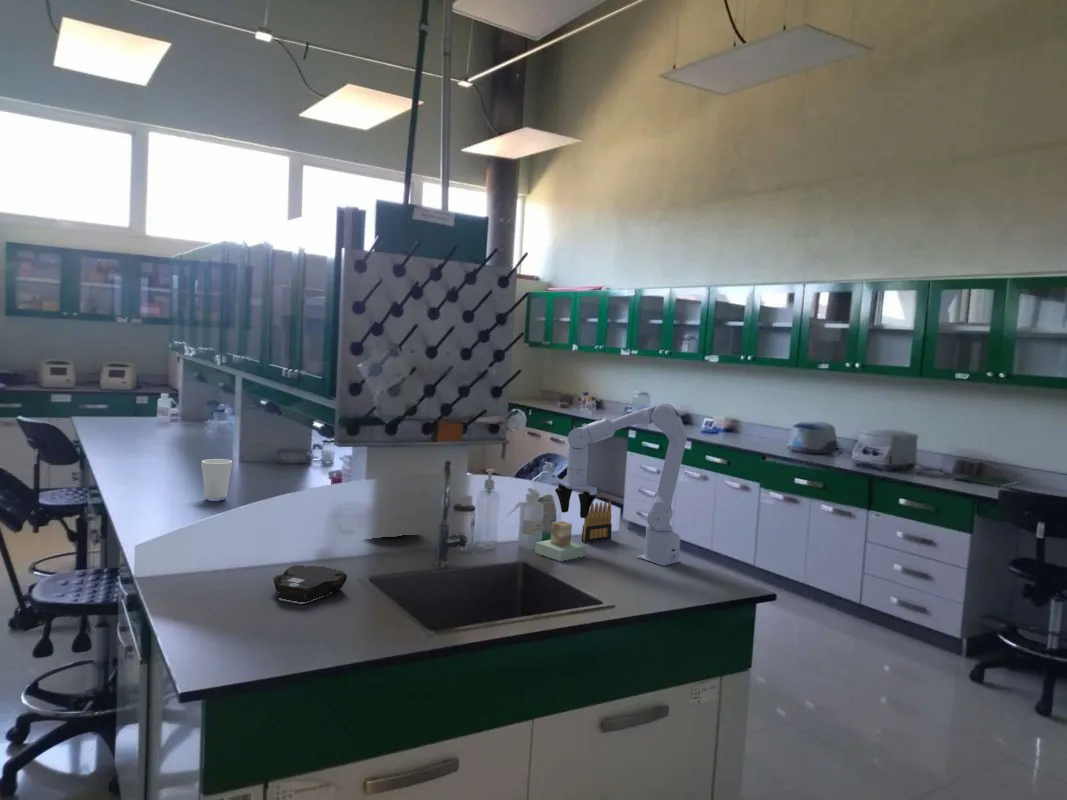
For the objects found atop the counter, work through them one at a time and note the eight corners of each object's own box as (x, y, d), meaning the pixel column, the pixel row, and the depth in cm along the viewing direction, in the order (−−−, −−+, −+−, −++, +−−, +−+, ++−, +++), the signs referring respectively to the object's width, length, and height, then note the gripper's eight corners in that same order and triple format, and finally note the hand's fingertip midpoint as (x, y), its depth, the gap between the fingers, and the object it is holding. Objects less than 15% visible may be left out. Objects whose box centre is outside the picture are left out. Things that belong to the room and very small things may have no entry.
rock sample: (270, 583, 177) (270, 562, 176) (339, 579, 183) (340, 559, 182) (276, 609, 161) (277, 586, 160) (351, 604, 167) (352, 582, 166)
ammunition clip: (585, 543, 229) (587, 504, 229) (581, 541, 231) (583, 502, 230) (611, 539, 236) (614, 501, 235) (607, 538, 237) (610, 500, 237)
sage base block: (584, 556, 215) (585, 545, 215) (560, 561, 208) (560, 550, 208) (559, 547, 222) (560, 537, 222) (534, 552, 216) (535, 542, 215)
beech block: (570, 544, 215) (571, 523, 215) (560, 546, 212) (562, 525, 212) (560, 541, 218) (561, 520, 217) (550, 543, 215) (551, 522, 215)
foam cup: (236, 500, 257) (238, 461, 256) (212, 504, 249) (213, 464, 248) (219, 495, 262) (220, 458, 261) (194, 499, 254) (195, 460, 253)
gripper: (549, 465, 224) (546, 511, 225) (586, 473, 213) (582, 521, 214) (566, 464, 229) (563, 508, 230) (602, 472, 218) (599, 518, 219)
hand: (574, 514), depth 222 cm, fingers open, 7 cm apart
